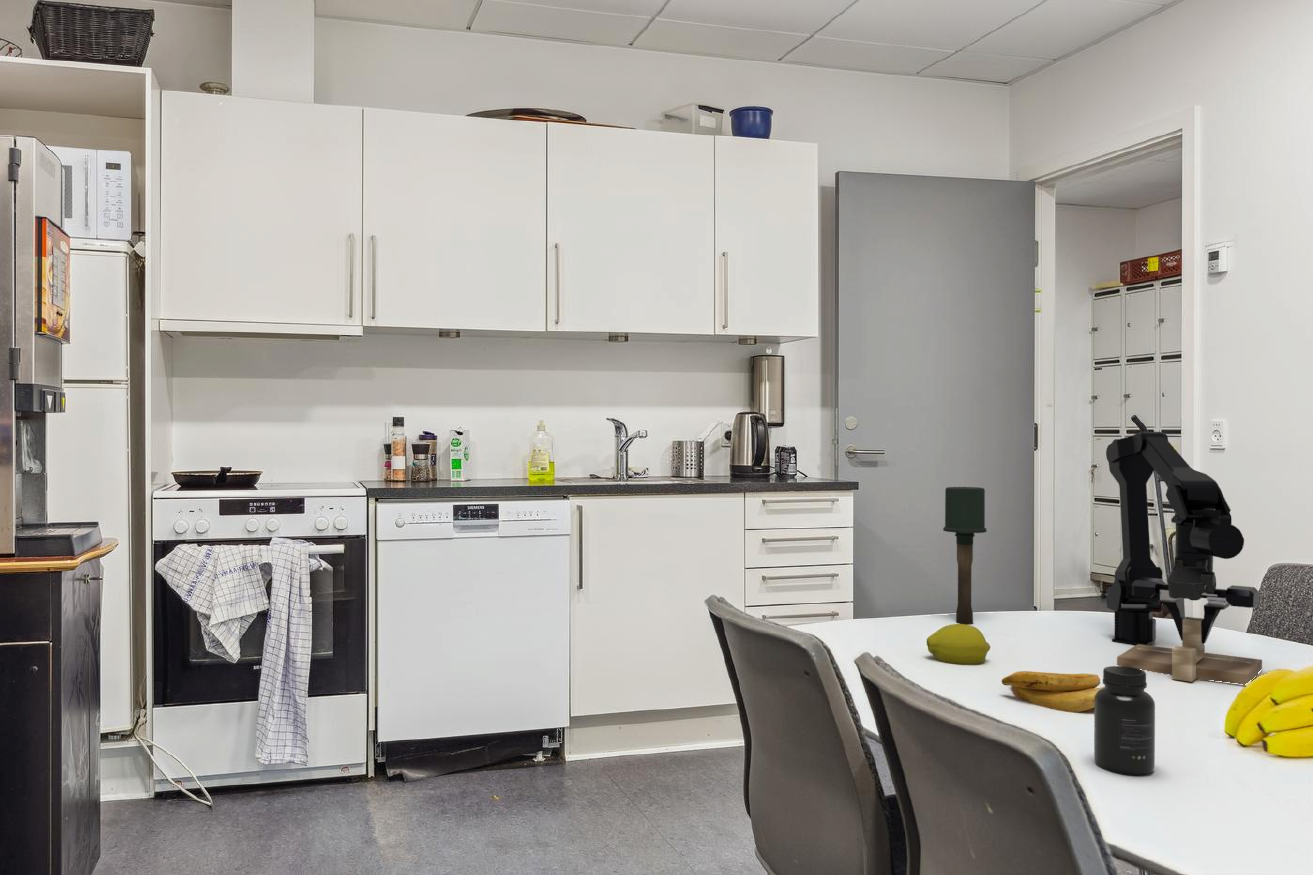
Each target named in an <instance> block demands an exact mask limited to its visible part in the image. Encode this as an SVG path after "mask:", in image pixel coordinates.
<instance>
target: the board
mask: <svg viewBox="0 0 1313 875" xmlns="http://www.w3.org/2000/svg"><path fill="white" fill-rule="evenodd" d="M1173 648H1174V647H1172V648H1171V647H1163V646H1155V645H1150V644H1149V645H1141V644H1137V645H1136V644H1135V645H1134V646H1133V647H1131V648H1130V649H1128V650H1126V651H1124V652H1123V653H1121V654H1119V655H1118V656H1117V657H1116V666H1117V665H1118V666H1125V667H1132V668H1137V669H1142V670H1143V671H1145V670H1147V671H1146V672H1150V671H1151V672H1150V673H1156V672H1157V673H1156V674H1161V673H1163V675H1167V674H1170V675H1169V676H1172V649H1173ZM1261 669H1262V670H1263V659H1260V658H1251V657H1243V656H1235V655H1229V654H1228V655H1227V654H1222V653H1221V654H1219V653H1218V654H1217V653H1212V652H1211V653H1210V652H1205V656H1204V657H1203V658H1202V659H1201V660H1199V661H1198V662H1197V663H1196V679H1201V680H1200V681H1203V680H1214V681H1222V682H1230V683H1238V684H1243V685H1245V684H1246V683H1248V682H1249V681H1250V680H1252V679H1253V678H1254V677H1255V676H1257V675H1258V672H1259V671H1260V670H1261ZM1258 676H1259V675H1258ZM1258 676H1257V677H1258ZM1196 679H1195V680H1196Z"/></svg>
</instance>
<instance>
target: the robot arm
mask: <svg viewBox="0 0 1313 875" xmlns="http://www.w3.org/2000/svg"><path fill="white" fill-rule="evenodd" d="M1105 455H1106V456H1105V457H1106V460H1107V462H1108V467H1109V468H1108V469H1109V472H1110V474H1111V475H1112V477H1113V478H1114V479H1115V481H1116V483H1118V487H1119V502H1120V503H1119V504H1120V520H1121V521H1120V522H1121V523H1120V525H1121V541H1122V545H1121V546H1122V559H1121V562H1120V563H1119V565H1118V566H1117V568H1116V570H1115V571H1114V581H1113V583H1112V585H1111V587H1110V588H1109V591H1108V593H1106V594H1107V595H1106V597H1105V601H1106V608H1107V609H1109V610H1112V611H1114V637H1113V638H1111V642H1113V643H1122V644H1131V645H1135V646H1136V645H1137V644H1141V645H1149V646H1150V645H1151V644H1152V643H1154V642H1155V641H1156V640H1157V635H1156V634H1157V619H1156V618H1153V617H1154V616H1153V615H1154V612H1155V613H1156V612H1157V613H1161V612H1162V608H1163V605H1165V607H1166V608H1167V610H1168V611H1169V613H1170V615H1171V617H1172V619H1173V621H1174V624H1175V627H1176V629H1177V630H1176V631H1177V632H1178V635H1179V638H1180V641H1182V642H1183V619H1184V618H1185V617H1186V611H1185V610H1186V609H1185V608H1186V606H1185V600H1186V599H1187V600H1189V601H1199V600H1201V599H1206V600H1207V602H1208V603H1206V604H1204V605H1203V612H1204V614H1203V619H1204V620H1203V628H1202V643H1203V644H1204V645H1205V644H1206V642H1207V641H1208V638H1209V636H1210V633H1211V631H1212V628H1213V626H1214V623H1215V621H1216V619H1217V618H1218V616H1219V615H1220V612H1221V611H1223V610H1226V609H1227V608H1228V607H1230V606H1231V607H1238V608H1248V609H1249V608H1251V609H1253V608H1255V607H1256V606H1258V605H1259V603H1260V602H1259V601H1260V592H1259V590H1258V589H1257V588H1256V587H1254V586H1243V585H1231V586H1230V585H1229V587H1227V588H1226V589H1224V588H1217V578H1216V574H1215V571H1214V558H1215V557H1216V558H1219V559H1225V560H1229V559H1233V558H1235V557H1237V556H1238V555H1240V553H1241V552H1242V550H1243V548H1244V544H1245V538H1244V537H1243V533H1242V532H1241V530H1240V529H1239V528H1238V527H1236V526H1235V525H1234V524H1232V515H1231V511H1232V510H1231V508H1230V506H1229V504H1228V502H1227V501H1226V498H1225V497H1224V494H1223V491H1222V489H1221V488H1220V486H1219V484H1218V483H1217V481H1216V480H1215V479H1213V478H1212V477H1211V476H1210V475H1208V474H1207V473H1204V472H1200V471H1198V470H1195V469H1193V468H1192V467H1191V465H1189V464H1188V462H1187V461H1186V460H1185V459H1184V458H1183V456H1181V454H1180V453H1179V452H1178V450H1177V449H1175V447H1174V446H1173V445H1172V444H1171V443H1170V442H1169V439H1168V435H1167V434H1166V433H1165V432H1162V431H1140V432H1136V433H1134V434H1133V435H1131V436H1126V437H1122V438H1119V439H1118V438H1116V439H1114V440H1112V442H1111V443H1110V444H1108V446H1107V447H1106V451H1105ZM1154 472H1155V473H1156V474H1157V475H1158V476H1159V477H1160V478H1161V480H1162V481H1163V483H1164V484H1165V486H1166V487H1167V489H1166V492H1165V497H1166V499H1167V501H1168V503H1169V505H1170V506H1171V508H1172V509H1173V511H1174V513H1175V515H1173V516H1172V518H1171V519H1170V521H1171V523H1173V524H1175V556H1174V564H1173V568H1172V570H1171V572H1170V574H1169V577H1167V583H1164V579H1163V570H1162V568H1161V567H1160V566H1157V565H1156V564H1155V562H1154V561H1153V560H1152V558H1151V557H1152V556H1151V543H1150V540H1151V539H1150V524H1149V507H1148V492H1147V491H1148V488H1147V484H1148V481H1149V480H1150V478H1151V476H1152V475H1153V473H1154Z"/></svg>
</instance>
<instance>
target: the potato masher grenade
mask: <svg viewBox="0 0 1313 875" xmlns="http://www.w3.org/2000/svg"><path fill="white" fill-rule="evenodd" d="M944 491H945V494H944V496H945V497H944V499H945V500H944V501H945V503H944V511H945V513H944V514H945V515H944V527H943V528H942V530H943V532H949V533H955V534H954V536H955V537H956V538H955V539H956V540H955V541H956V562H957V608H956V612H955V622H956V623H955V624H966V625H970V626H973V625H974V612H973V607H972V564H973V559H974V551H973V550H974V538H975V536H976V535H975V534H982V533H983V534H984V533H987V528H986V526H985V524H986V520H985V519H986V516H985V514H986V512H985V510H986V508H985V506H986V505H985V504H986V502H985V501H986V500H985V499H986V497H985V496H986V495H985V494H986V490H985V488H984V487H976V486H947V487H946V488H945V490H944Z"/></svg>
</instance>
